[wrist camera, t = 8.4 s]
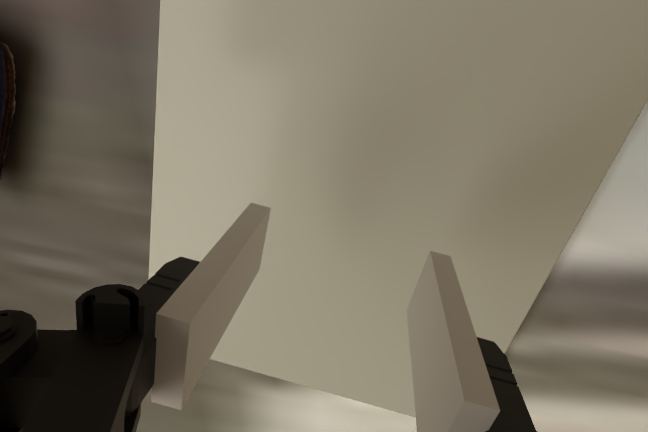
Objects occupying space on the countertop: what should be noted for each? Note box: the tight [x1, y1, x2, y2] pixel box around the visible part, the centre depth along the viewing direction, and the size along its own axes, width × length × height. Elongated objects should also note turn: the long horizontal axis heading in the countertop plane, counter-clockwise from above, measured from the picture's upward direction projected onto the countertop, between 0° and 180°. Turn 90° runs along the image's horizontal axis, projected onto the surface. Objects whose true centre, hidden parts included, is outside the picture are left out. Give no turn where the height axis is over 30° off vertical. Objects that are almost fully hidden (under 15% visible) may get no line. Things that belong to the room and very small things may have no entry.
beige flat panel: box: [149, 0, 648, 417], centre depth 19 cm, size 24×20×1 cm
